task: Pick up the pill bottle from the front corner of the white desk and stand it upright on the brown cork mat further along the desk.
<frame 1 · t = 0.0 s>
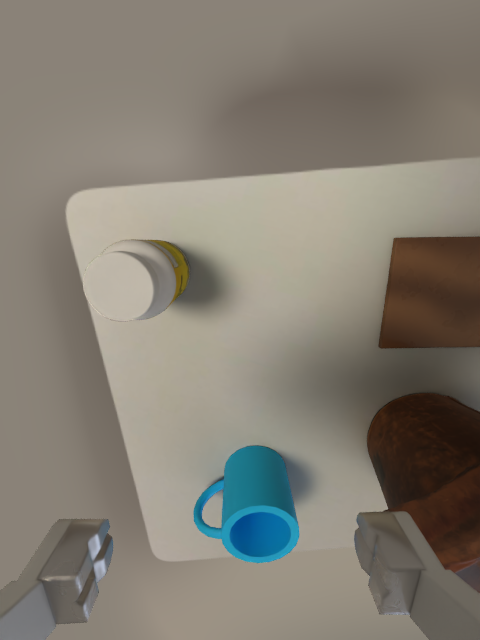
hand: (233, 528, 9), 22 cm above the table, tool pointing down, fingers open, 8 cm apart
case: (411, 431, 35), on the table
mug: (241, 472, 36), on the table
cork mat: (449, 294, 29), on the table
pill bottle: (162, 270, 28), on the table
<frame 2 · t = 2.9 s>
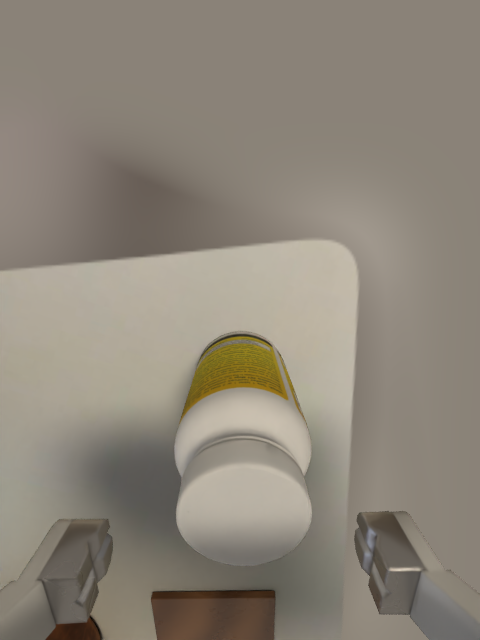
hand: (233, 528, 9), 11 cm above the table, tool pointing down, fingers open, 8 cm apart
case: (45, 628, 28), on the table
cork mat: (216, 635, 28), on the table
pill bottle: (241, 367, 20), on the table
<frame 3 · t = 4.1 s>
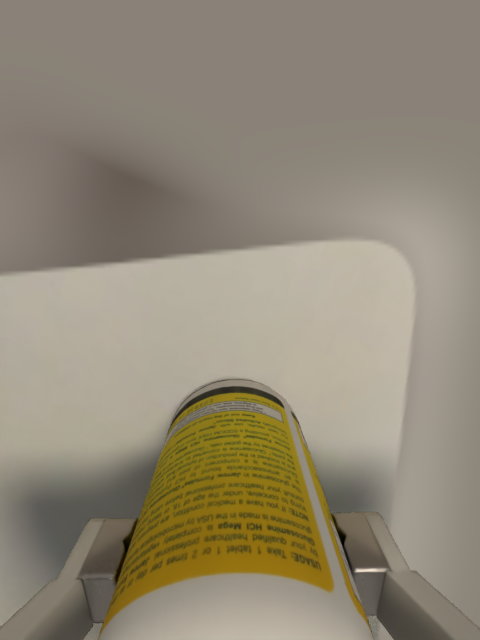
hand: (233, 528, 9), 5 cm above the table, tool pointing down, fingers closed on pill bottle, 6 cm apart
pill bottle: (235, 428, 13), on the table, touching gripper
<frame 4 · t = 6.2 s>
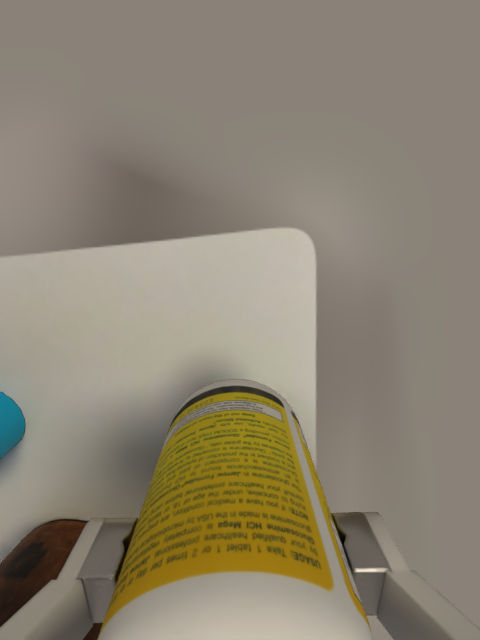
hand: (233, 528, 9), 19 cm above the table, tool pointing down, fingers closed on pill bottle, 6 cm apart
case: (74, 551, 35), on the table
pill bottle: (235, 428, 14), point 14 cm above the table, touching gripper
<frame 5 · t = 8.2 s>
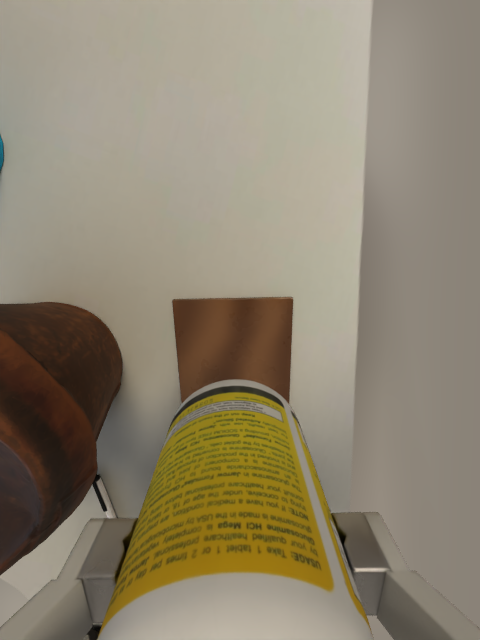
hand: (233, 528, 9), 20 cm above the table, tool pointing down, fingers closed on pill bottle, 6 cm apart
case: (67, 355, 29), on the table
cork mat: (234, 361, 29), on the table
pill bottle: (235, 428, 13), point 15 cm above the table, touching gripper
pen: (118, 522, 36), on the table
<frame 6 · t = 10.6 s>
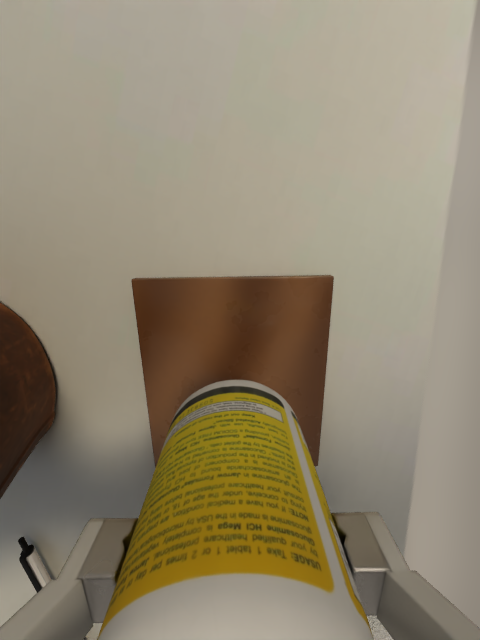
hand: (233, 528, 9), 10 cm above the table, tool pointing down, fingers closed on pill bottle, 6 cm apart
cork mat: (235, 379, 18), on the table
pill bottle: (235, 428, 13), point 5 cm above the table, touching gripper
pen: (66, 606, 25), on the table
when the fingers open (5 cm above the table, at t = 12.3 s): pill bottle stays where it is, resting on cork mat.
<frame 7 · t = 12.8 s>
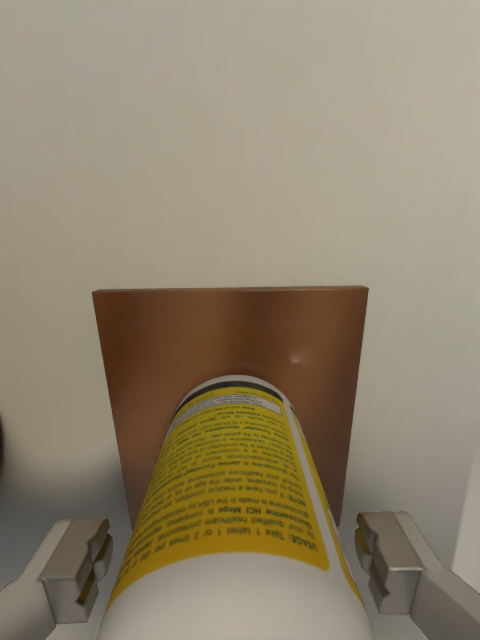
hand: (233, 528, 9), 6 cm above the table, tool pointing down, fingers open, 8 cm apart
cork mat: (234, 419, 14), on the table
pill bottle: (235, 423, 14), resting on cork mat
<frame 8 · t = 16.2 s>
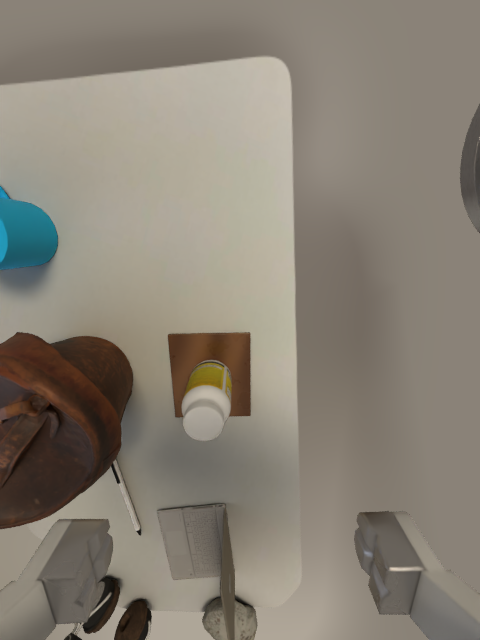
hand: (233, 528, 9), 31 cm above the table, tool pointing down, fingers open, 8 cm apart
case: (94, 371, 41), on the table
decorative stone: (232, 607, 57), on the table
headset: (124, 590, 56), on the table
mug: (20, 219, 35), on the table
cork mat: (211, 375, 42), on the table
pill bottle: (211, 376, 41), resting on cork mat
pen: (127, 493, 48), on the table
laptop: (198, 539, 52), on the table
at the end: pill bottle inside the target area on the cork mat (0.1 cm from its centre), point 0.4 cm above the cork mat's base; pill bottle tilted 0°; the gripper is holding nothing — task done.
